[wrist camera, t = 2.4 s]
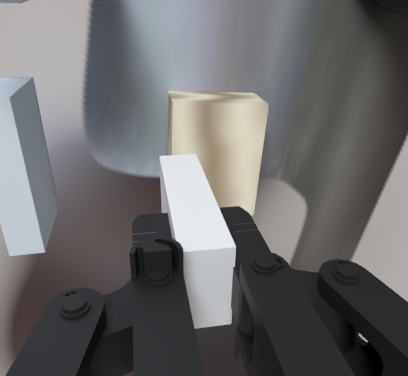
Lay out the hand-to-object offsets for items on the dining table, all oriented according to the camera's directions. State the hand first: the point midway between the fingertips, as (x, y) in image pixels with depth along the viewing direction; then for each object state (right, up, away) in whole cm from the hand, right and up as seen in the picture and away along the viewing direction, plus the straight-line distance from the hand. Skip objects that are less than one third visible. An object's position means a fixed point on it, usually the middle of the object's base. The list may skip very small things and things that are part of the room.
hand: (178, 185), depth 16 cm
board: (-16, +4, +22) cm, 27 cm away
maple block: (+1, +4, +25) cm, 26 cm away
